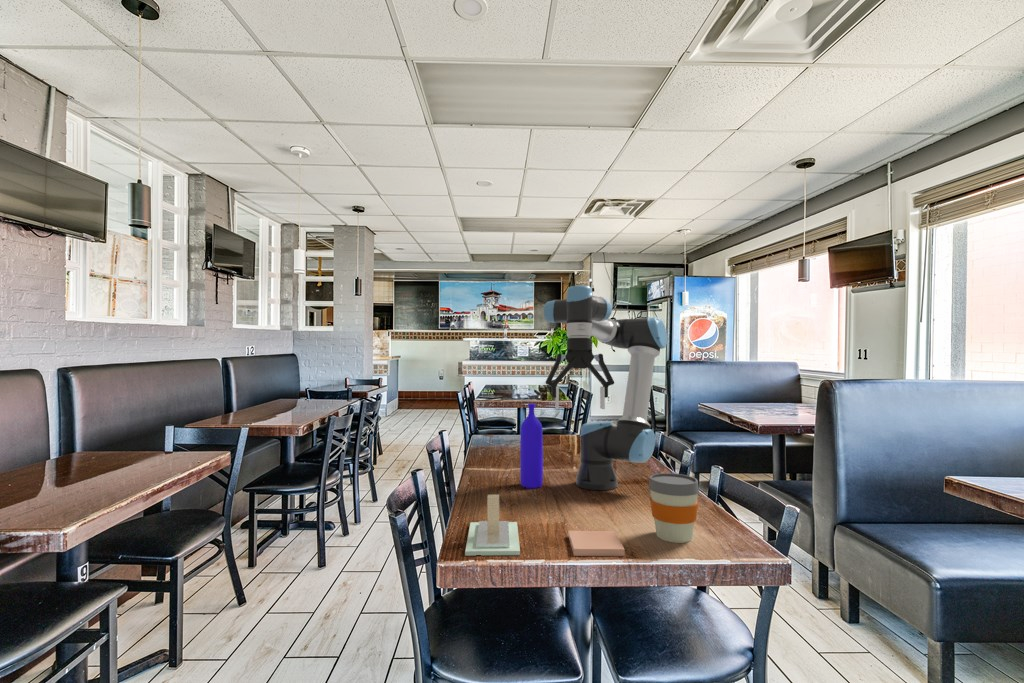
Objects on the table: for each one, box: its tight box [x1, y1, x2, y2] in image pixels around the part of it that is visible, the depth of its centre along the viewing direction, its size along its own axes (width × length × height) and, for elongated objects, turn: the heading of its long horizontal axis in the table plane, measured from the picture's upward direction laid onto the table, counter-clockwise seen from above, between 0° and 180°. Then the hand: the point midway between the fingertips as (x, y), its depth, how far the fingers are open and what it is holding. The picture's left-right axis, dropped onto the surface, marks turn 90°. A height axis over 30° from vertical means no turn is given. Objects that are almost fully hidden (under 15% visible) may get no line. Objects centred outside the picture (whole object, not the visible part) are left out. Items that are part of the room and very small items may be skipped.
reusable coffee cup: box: [648, 472, 700, 544], centre depth 124 cm, size 13×13×15 cm
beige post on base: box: [476, 494, 509, 548], centre depth 122 cm, size 16×8×10 cm, turn 1°
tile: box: [568, 530, 626, 557], centre depth 118 cm, size 2×12×12 cm
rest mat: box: [464, 521, 521, 557], centre depth 122 cm, size 20×13×1 cm, turn 1°
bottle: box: [519, 403, 544, 489], centre depth 174 cm, size 8×8×30 cm
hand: (579, 408), depth 141 cm, fingers open, 13 cm apart
